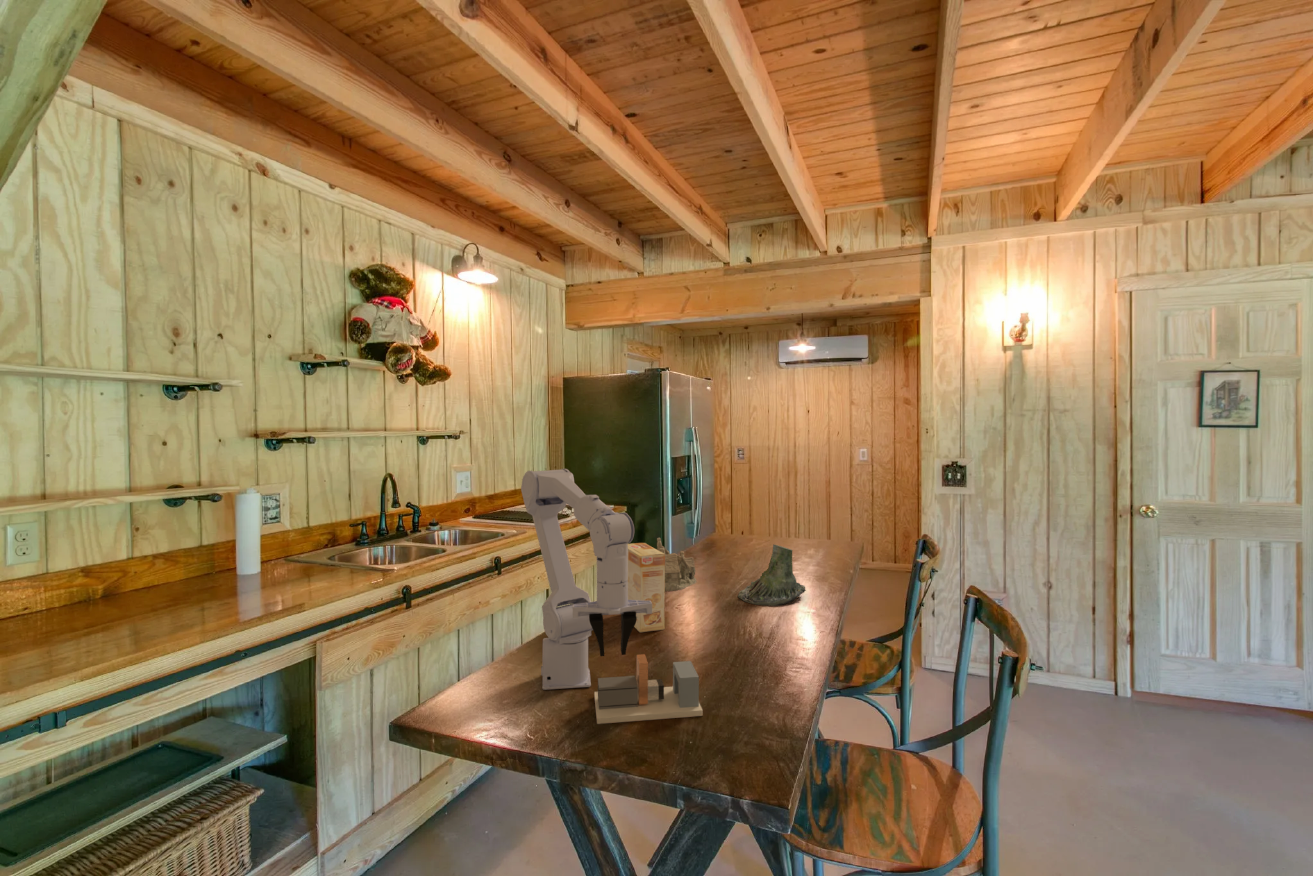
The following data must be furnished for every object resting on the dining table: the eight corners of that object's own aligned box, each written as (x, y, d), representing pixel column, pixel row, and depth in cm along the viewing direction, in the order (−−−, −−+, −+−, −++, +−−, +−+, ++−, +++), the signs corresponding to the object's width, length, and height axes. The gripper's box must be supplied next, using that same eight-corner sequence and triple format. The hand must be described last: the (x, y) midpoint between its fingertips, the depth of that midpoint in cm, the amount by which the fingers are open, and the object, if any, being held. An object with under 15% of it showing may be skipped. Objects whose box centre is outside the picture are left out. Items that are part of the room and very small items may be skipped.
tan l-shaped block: (601, 707, 105) (601, 665, 105) (600, 696, 109) (600, 656, 109) (664, 702, 107) (664, 661, 107) (661, 692, 111) (661, 653, 111)
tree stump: (726, 592, 182) (738, 535, 184) (781, 602, 188) (792, 547, 190) (752, 607, 165) (765, 544, 166) (813, 617, 170) (825, 557, 172)
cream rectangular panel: (597, 723, 102) (597, 695, 102) (594, 697, 112) (594, 671, 112) (702, 715, 105) (702, 688, 105) (691, 690, 115) (691, 665, 115)
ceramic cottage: (652, 591, 181) (655, 542, 181) (647, 578, 197) (650, 534, 197) (701, 593, 182) (704, 545, 183) (693, 580, 199) (696, 536, 199)
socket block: (679, 707, 106) (680, 678, 106) (672, 690, 113) (673, 662, 113) (698, 706, 107) (698, 676, 106) (690, 688, 114) (690, 661, 113)
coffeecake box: (665, 629, 148) (665, 553, 148) (639, 633, 146) (639, 555, 145) (644, 611, 162) (645, 541, 162) (620, 614, 160) (620, 543, 159)
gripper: (572, 587, 102) (573, 664, 102) (654, 584, 104) (654, 659, 104) (572, 577, 109) (572, 649, 109) (649, 574, 111) (649, 644, 111)
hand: (612, 653), depth 107 cm, fingers open, 3 cm apart
